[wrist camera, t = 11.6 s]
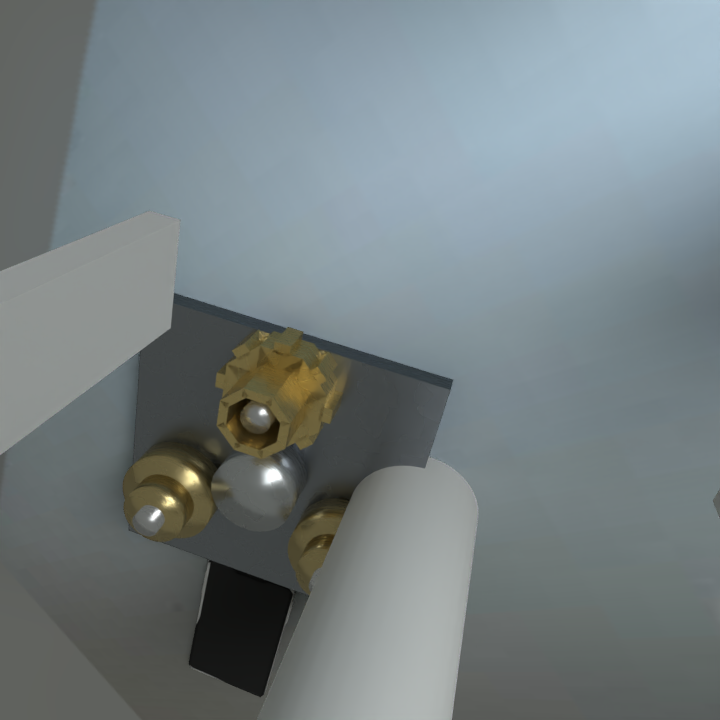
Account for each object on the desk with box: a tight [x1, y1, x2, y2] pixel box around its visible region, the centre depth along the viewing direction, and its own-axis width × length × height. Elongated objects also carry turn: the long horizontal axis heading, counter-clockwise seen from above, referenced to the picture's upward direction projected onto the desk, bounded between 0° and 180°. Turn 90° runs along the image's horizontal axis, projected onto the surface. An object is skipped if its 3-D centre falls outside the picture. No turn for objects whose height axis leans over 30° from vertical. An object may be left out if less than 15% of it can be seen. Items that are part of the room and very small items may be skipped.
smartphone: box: [189, 560, 295, 697], centre depth 59 cm, size 8×1×15 cm
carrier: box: [123, 293, 453, 596], centre depth 48 cm, size 22×22×7 cm
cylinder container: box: [257, 457, 478, 720], centre depth 37 cm, size 9×9×30 cm
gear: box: [215, 327, 343, 459], centre depth 43 cm, size 8×8×6 cm
